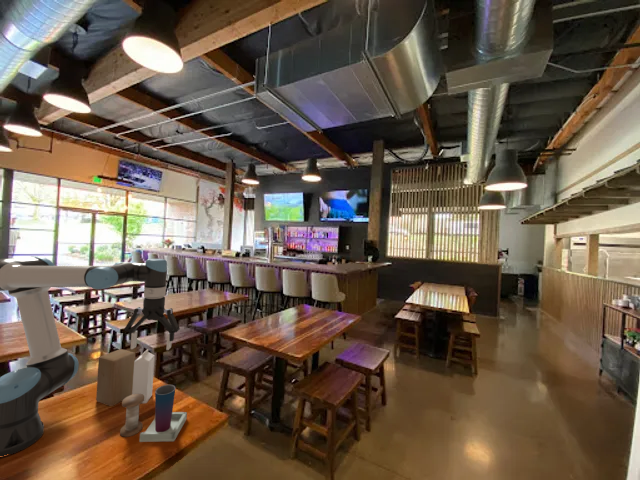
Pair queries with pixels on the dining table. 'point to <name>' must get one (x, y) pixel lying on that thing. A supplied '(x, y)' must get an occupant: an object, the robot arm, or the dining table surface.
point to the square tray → (169, 434)
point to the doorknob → (132, 415)
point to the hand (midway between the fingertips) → (151, 348)
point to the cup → (164, 407)
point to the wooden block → (115, 377)
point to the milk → (143, 375)
